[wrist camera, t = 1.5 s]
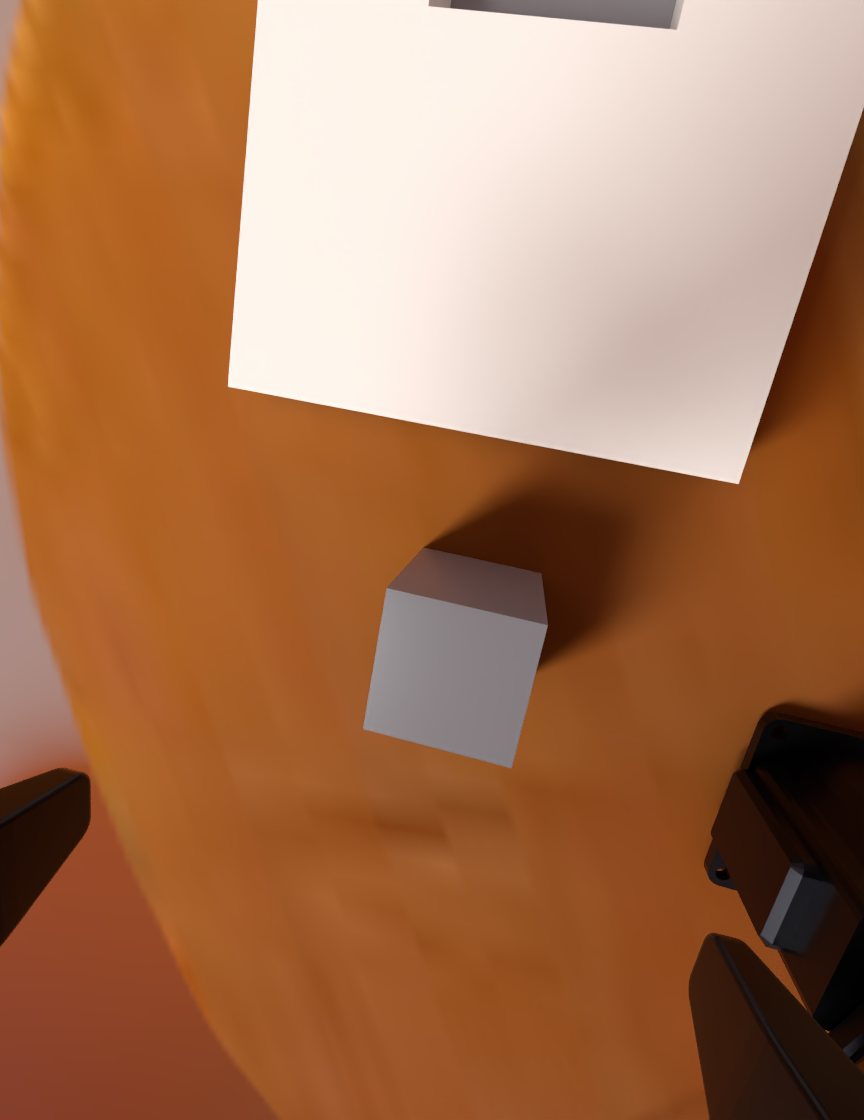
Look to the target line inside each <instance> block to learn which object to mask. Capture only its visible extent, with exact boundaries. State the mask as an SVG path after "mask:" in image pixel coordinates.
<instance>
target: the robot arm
mask: <svg viewBox="0 0 864 1120" xmlns="http://www.w3.org/2000/svg"><path fill="white" fill-rule="evenodd" d="M776 727H783V729H782V730H781V732H780V733H777V734H771V731H772V730H773V729H774V728H776ZM90 789H91V785H90V778H89V776H88V775H87V774H85V773H84V772H80V771H76V770H72V769H68V768H57V769H54V770H51V771H48V772H46V773H43V774H40V775H37V776H34V777H32V778H29V779H26V780H23V781H20V782H18V783H15V784H12V785H9V786H7V787H4V788H1V789H0V946H1V945H2V944H3V943H4V942H5V940H6V939H7V938H8V936H9V935H10V934H11V933H12V931H13V930H14V929H15V928H16V926H17V925H18V924H19V922H20V921H21V920H22V918H23V916H25V914H26V913H27V912H28V910H29V909H30V907H31V906H32V905H33V903H34V902H35V900H36V899H37V898H38V897H39V895H40V894H41V893H42V891H43V890H44V889H45V887H46V886H47V885H48V883H49V882H50V881H51V879H52V878H53V877H54V875H55V874H56V873H57V871H58V870H59V869H60V867H61V866H62V864H63V863H64V862H65V860H66V859H67V858H68V856H69V855H70V854H71V852H72V851H73V850H74V848H75V847H76V846H77V844H78V843H79V841H80V840H81V839H82V837H83V836H84V834H85V833H86V831H87V829H88V826H89V823H90V818H91V801H90V800H91V796H90V795H91V791H90ZM711 835H712V837H713V840H712V843H711V845H710V848H709V850H708V853H707V856H706V858H705V861H704V867H705V869H706V872H707V874H708V877H709V879H710V880H711V881H712V882H713V883H715V884H717V885H719V886H722V887H726V888H730V889H733V890H737V891H738V893H739V895H740V898H741V900H742V902H743V904H744V906H745V908H746V910H747V913H748V915H749V917H750V919H751V921H752V923H753V925H754V928H755V930H756V932H757V934H758V936H759V937H760V939H761V940H762V942H763V943H764V945H765V946H766V947H769V948H773V949H776V950H778V952H779V954H780V956H781V958H782V960H783V962H784V964H785V966H786V968H787V970H788V972H789V974H790V976H791V978H792V980H793V983H794V985H795V987H796V989H797V991H798V993H799V995H800V997H801V999H802V1001H803V1003H804V1005H805V1007H806V1009H807V1010H806V1009H805V1008H804V1007H803V1006H802V1005H801V1004H800V1002H799V1001H798V1000H797V999H796V998H795V997H794V996H793V995H792V994H791V993H790V991H789V990H788V989H787V988H786V987H785V986H784V985H783V984H782V983H781V982H780V980H779V979H778V978H777V977H776V976H775V975H774V974H773V973H772V972H771V970H770V969H769V968H768V967H767V966H766V965H765V964H764V963H763V962H762V961H761V959H760V958H759V957H758V956H757V955H756V954H755V953H754V952H753V951H752V950H751V948H750V947H749V946H748V945H747V944H745V943H744V942H743V941H741V940H739V939H736V938H732V937H729V936H725V935H721V934H717V933H710V934H708V935H707V936H706V938H705V940H704V942H703V944H702V947H701V949H700V952H699V955H698V957H697V960H696V962H695V965H694V967H693V970H692V972H691V975H690V980H689V1000H690V1006H691V1012H692V1018H693V1024H694V1030H695V1036H696V1041H697V1047H698V1053H699V1059H700V1065H701V1071H702V1077H703V1083H704V1089H705V1095H706V1101H707V1107H708V1113H709V1119H710V1120H864V733H860V732H855V731H851V730H847V729H843V728H839V727H835V726H830V725H826V724H822V723H818V722H814V721H809V720H805V719H801V718H797V717H793V716H788V715H784V714H780V713H771V714H767V715H765V716H764V717H762V718H761V719H760V721H759V722H758V724H757V727H756V729H755V732H754V734H753V737H752V739H751V742H750V745H749V747H748V750H747V752H746V755H745V758H744V760H743V763H742V765H741V768H740V769H738V770H737V771H736V772H734V773H733V775H732V778H731V781H730V783H729V786H728V788H727V791H726V794H725V796H724V799H723V801H722V804H721V807H720V809H719V812H718V814H717V817H716V820H715V822H714V825H713V827H712V830H711ZM719 868H726V869H725V870H722V871H717V869H719ZM825 1030H827V1031H830V1032H829V1033H827V1032H826V1031H825Z"/></svg>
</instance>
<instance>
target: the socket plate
mask: <svg viewBox="0 0 864 1120" xmlns="http://www.w3.org/2000/svg"><path fill="white" fill-rule="evenodd" d="M863 108H864V0H258V7H257V20H256V33H255V46H254V59H253V71H252V84H251V97H250V110H249V123H248V135H247V148H246V161H245V174H244V186H243V199H242V212H241V225H240V238H239V250H238V263H237V276H236V289H235V302H234V314H233V327H232V340H231V353H230V366H229V378H228V387H233V388H238V389H244V390H249V391H254V392H259V393H265V394H270V395H275V396H280V397H286V398H291V399H296V400H301V401H306V402H312V403H317V404H322V405H327V406H333V407H338V408H343V409H348V410H354V411H359V412H364V413H369V414H374V415H380V416H385V417H390V418H395V419H401V420H406V421H411V422H416V423H422V424H427V425H432V426H437V427H442V428H448V429H453V430H458V431H463V432H469V433H474V434H479V435H484V436H490V437H495V438H500V439H505V440H510V441H516V442H521V443H526V444H531V445H537V446H542V447H547V448H552V449H557V450H563V451H568V452H573V453H578V454H584V455H589V456H594V457H599V458H605V459H610V460H615V461H620V462H625V463H631V464H636V465H641V466H646V467H652V468H657V469H662V470H667V471H673V472H678V473H683V474H688V475H693V476H699V477H704V478H709V479H714V480H720V481H725V482H730V483H735V484H739V481H740V478H741V475H742V472H743V469H744V466H745V463H746V460H747V457H748V454H749V451H750V448H751V445H752V442H753V439H754V436H755V433H756V430H757V427H758V424H759V421H760V418H761V415H762V412H763V409H764V406H765V403H766V400H767V397H768V394H769V391H770V388H771V385H772V382H773V379H774V376H775V373H776V370H777V367H778V364H779V361H780V358H781V355H782V352H783V349H784V346H785V343H786V340H787V337H788V334H789V331H790V328H791V325H792V322H793V319H794V316H795V313H796V310H797V307H798V304H799V301H800V298H801V295H802V292H803V289H804V286H805V283H806V280H807V277H808V274H809V271H810V268H811V265H812V262H813V259H814V256H815V253H816V250H817V247H818V244H819V240H820V237H821V234H822V231H823V228H824V225H825V222H826V219H827V216H828V213H829V210H830V207H831V204H832V201H833V198H834V195H835V192H836V189H837V186H838V183H839V180H840V177H841V174H842V171H843V168H844V165H845V162H846V159H847V156H848V153H849V150H850V147H851V144H852V141H853V138H854V135H855V132H856V129H857V126H858V123H859V120H860V117H861V114H862V111H863Z"/></svg>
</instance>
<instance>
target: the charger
mask: <svg viewBox="0 0 864 1120" xmlns="http://www.w3.org/2000/svg"><path fill="white" fill-rule="evenodd" d="M547 627H548V621H547V613H546V605H545V597H544V589H543V580H542V573H538V572H534V571H529V570H525V569H520V568H516V567H511V566H506V565H502V564H497V563H493V562H488V561H484V560H479V559H474V558H470V557H465V556H461V555H456V554H452V553H447V552H442V551H438V550H433V549H429V548H424V547H423V548H422V550H421V551H420V552H419V553H418V554H417V555H416V556H415V557H414V558H413V560H412V561H411V562H410V563H409V564H408V565H407V566H406V567H405V568H404V570H403V571H402V572H401V573H400V574H399V575H398V576H397V577H396V578H395V579H394V581H393V582H392V583H391V584H390V585H389V586H388V587H387V589H386V595H385V601H384V607H383V613H382V619H381V625H380V631H379V637H378V643H377V649H376V655H375V661H374V667H373V673H372V679H371V685H370V691H369V697H368V703H367V709H366V715H365V721H364V726H363V729H365V730H369V731H373V732H377V733H381V734H384V735H388V736H392V737H396V738H399V739H403V740H407V741H411V742H415V743H418V744H422V745H426V746H430V747H433V748H437V749H441V750H445V751H449V752H452V753H456V754H460V755H464V756H467V757H471V758H475V759H479V760H483V761H486V762H490V763H494V764H498V765H501V766H505V767H509V768H512V764H513V760H514V756H515V752H516V748H517V745H518V741H519V737H520V733H521V729H522V725H523V721H524V717H525V713H526V709H527V705H528V701H529V698H530V694H531V690H532V686H533V682H534V678H535V674H536V670H537V666H538V662H539V658H540V655H541V651H542V647H543V643H544V639H545V635H546V631H547Z"/></svg>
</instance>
